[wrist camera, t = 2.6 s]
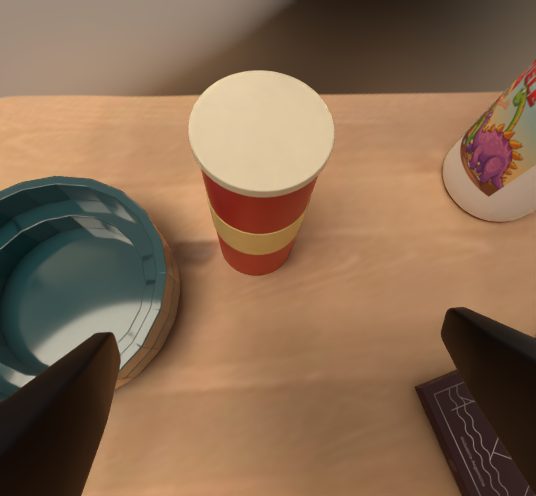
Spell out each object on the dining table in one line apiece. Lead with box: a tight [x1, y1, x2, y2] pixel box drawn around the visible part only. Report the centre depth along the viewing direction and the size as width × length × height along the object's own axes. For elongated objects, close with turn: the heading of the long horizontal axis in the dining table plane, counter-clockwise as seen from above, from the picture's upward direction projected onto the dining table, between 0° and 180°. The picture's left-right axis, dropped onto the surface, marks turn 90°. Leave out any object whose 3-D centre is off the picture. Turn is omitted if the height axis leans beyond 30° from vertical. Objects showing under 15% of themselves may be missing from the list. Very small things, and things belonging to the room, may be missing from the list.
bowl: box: [0, 176, 181, 403], centre depth 20 cm, size 13×13×4 cm
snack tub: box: [188, 71, 335, 276], centre depth 18 cm, size 6×6×12 cm
